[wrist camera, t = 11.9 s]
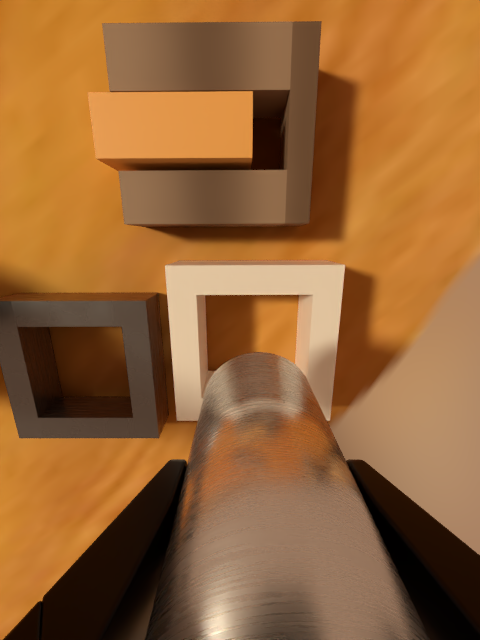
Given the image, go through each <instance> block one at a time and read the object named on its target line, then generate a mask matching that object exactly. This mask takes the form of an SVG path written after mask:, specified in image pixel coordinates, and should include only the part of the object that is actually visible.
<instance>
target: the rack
mask: <svg viewBox="0 0 480 640" xmlns="http://www.w3.org/2000/svg"><path fill="white" fill-rule="evenodd" d="M344 272H345V265H344V264H339V263H335V262H331V261H327V260H222V261H177V262H174V263H171V264H168V265H165V273H166V286H167V299H168V312H169V325H170V338H171V351H172V365H173V378H174V391H175V404H176V417H177V421H198V418H199V414H200V410H201V406H202V402H203V397H204V393H205V389H206V386H207V384H208V382H209V380H210V378H211V376H212V375H213V374H214V372H215V371H208V354H207V328H206V302H205V295H299V303H298V321H297V340H296V358H295V365H296V366H297V367H298V368H299V369H300V370H301V371H302V372H303V374H304V375H305V376H306V378H307V380H308V382H309V384H310V386H311V388H312V391H313V393H314V395H315V397H316V399H317V401H318V403H319V405H320V408H321V410H322V412H323V414H324V416H325V418H326V420H327V421H330V416H331V406H332V396H333V385H334V375H335V365H336V354H337V344H338V334H339V324H340V313H341V303H342V293H343V282H344Z"/></svg>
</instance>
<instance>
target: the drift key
mask: <svg viewBox="0 0 480 640" xmlns="http://www.w3.org/2000/svg"><path fill="white" fill-rule="evenodd" d="M88 100H89V108H90V116H91V123H92V131H93V139H94V147H95V154H96V159H98V160H100V161H101V162H103V163H105V164H107V165H108V166H110V167H112V168H114V169H116V170H117V171H174V170H251V164H252V139H253V91H218V92H88Z"/></svg>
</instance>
